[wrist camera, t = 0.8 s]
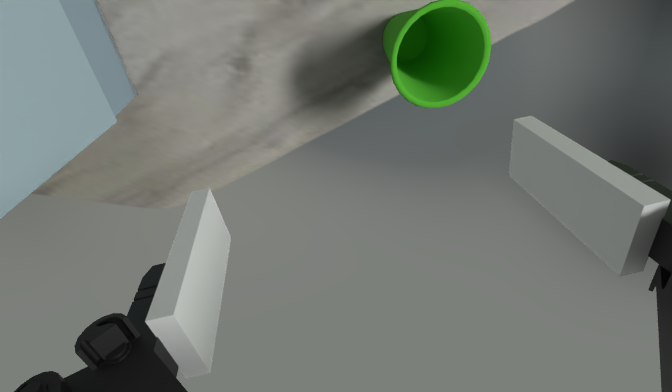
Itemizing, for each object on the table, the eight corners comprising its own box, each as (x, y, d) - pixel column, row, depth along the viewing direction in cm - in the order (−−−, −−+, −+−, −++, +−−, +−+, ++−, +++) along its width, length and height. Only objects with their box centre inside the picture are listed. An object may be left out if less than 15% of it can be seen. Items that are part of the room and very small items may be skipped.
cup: (351, 62, 42) (373, 89, 33) (386, -25, 38) (423, -21, 29) (419, 89, 45) (457, 121, 36) (458, 11, 41) (512, 25, 32)
